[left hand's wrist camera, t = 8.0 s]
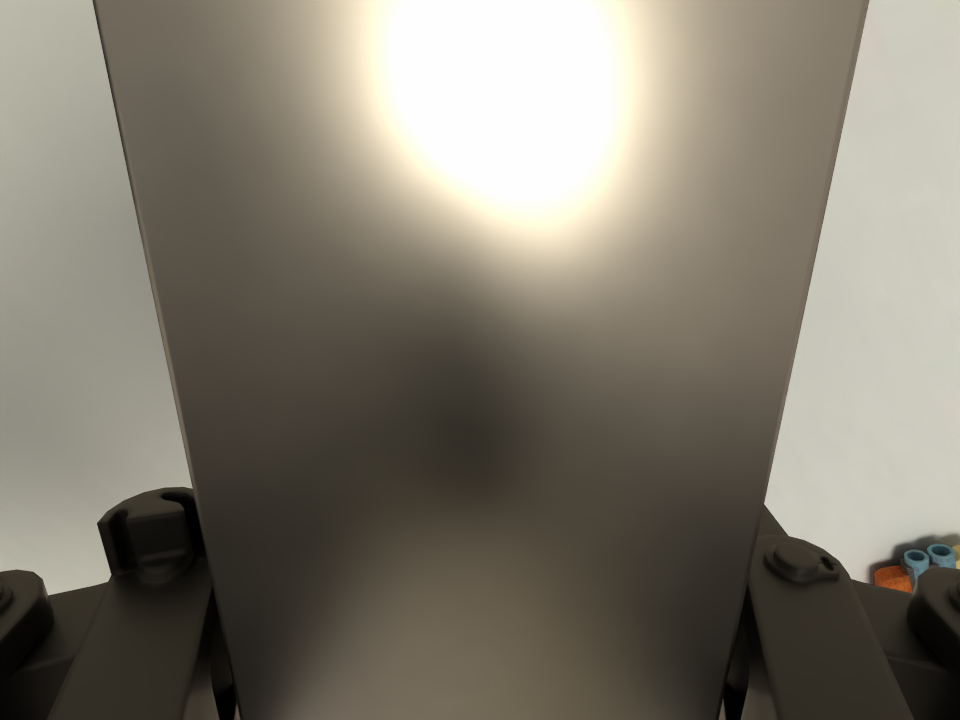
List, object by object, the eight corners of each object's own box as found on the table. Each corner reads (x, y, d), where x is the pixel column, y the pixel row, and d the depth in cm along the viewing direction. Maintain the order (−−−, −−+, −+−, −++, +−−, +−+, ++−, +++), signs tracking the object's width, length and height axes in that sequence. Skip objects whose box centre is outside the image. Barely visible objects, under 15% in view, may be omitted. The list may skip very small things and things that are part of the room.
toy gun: (814, 881, 32) (1027, 872, 29) (752, 600, 26) (1006, 563, 24) (795, 827, 34) (990, 815, 32) (736, 561, 29) (964, 524, 27)
